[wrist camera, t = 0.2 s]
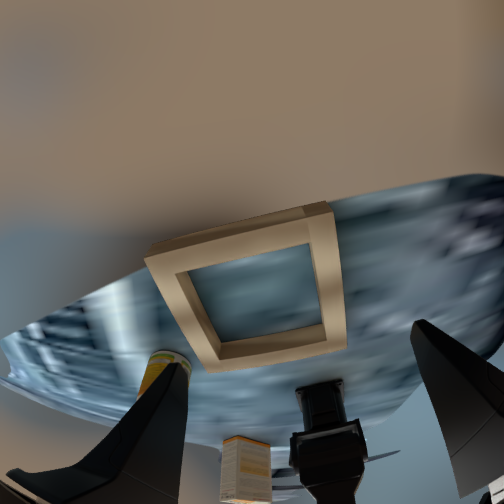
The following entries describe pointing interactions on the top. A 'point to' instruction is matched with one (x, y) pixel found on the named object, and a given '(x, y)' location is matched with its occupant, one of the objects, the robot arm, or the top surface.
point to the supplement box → (245, 472)
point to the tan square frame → (245, 245)
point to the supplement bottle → (161, 367)
